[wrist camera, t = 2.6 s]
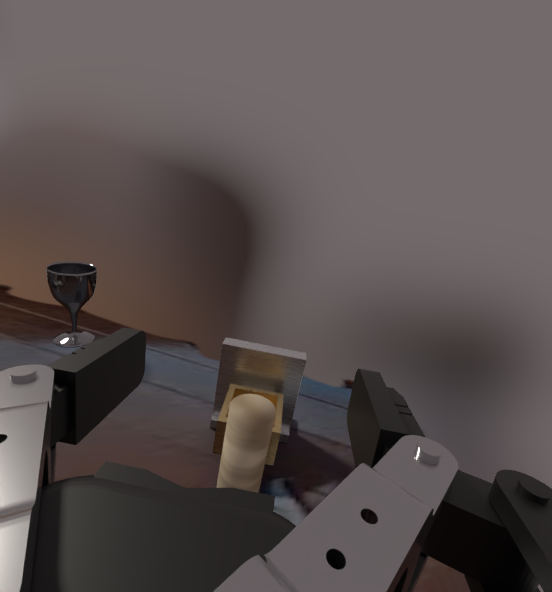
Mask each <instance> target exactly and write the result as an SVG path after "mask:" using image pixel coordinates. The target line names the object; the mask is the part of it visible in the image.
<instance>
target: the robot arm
mask: <svg viewBox="0 0 552 592" xmlns="http://www.w3.org/2000/svg"><path fill="white" fill-rule="evenodd" d="M145 351H146V334H145V332H144V331H140V330H135V329H129V328H121V329H120V330H118V331H116V332H114V333H112V334H111V335H109V336H107V337H105V338H102V339H99V340H95V341H92V342H90V343H88V344H86V345H84V346H83V347H81V349H77V350H75V351H73V352H72V354H68V355H66V356H64V357H62V358H60V359H59V360H57V361H55V362H53V363H51V364H49V365H48V366H44V365H23V366H17V367H13V368H9V369H6V370H4V371H1V372H0V592H413V590H414V588H415V586H416V584H417V581H418V579H419V577H420V575H421V573H422V571H423V569H424V567H425V564H426V562H427V560H428V557H429V556H430V557H432V558H434V559H436V560H438V561H440V562H441V563H443V564H445V565H447V566H449V567H451V568H453V569H455V570H457V571H459V572H461V573H463V574H464V575H465V578H466V581H467V583H468V586H469V588H470V591H471V592H540V591H539V589H538V585H539V584H540V585H541V587H542V589H543V591H544V592H552V489H551V488H550V487H548V486H547V485H545V484H544V483H542V482H540V481H539V480H536V479H534V478H533V477H531V476H528V475H526V474H523V473H520V472H517V471H512V470H501V471H499V472H498V473H497V474H496V477H495V479H494V482H493V484H492V483H489V482H487V481H484V480H482V479H479V478H477V477H474V476H472V475H469V474H467V473H464V472H462V471H460V470H458V463H457V461H456V459H455V457H454V456H453V455H452V454H451V453H450V452H449V451H448V450H447V449H446V448H444V447H443V446H442V445H440V444H438V443H437V442H435V441H433V440H430V439H428V438H425V436H424V434H423V432H422V431H421V429H420V427H419V425H418V423H417V421H416V420H415V418H414V416H412V412H411V410H410V409H409V408H408V405H407V403H406V401H405V400H404V398H403V397H402V396H401V395H400V394H399V393H398V392H397V391H396V390H394V389H393V388H389V387H386V385H385V383H384V381H383V378H382V377H381V374H380V373H379V372H375V371H370V370H364V369H358V370H357V372H356V375H355V379H354V384H353V388H352V393H351V397H350V402H349V406H348V413H347V425H348V431H349V436H350V441H351V446H352V452H353V457H354V462H355V467H356V469H355V470H354V471H353V472H352V473H351V474H350V475H349V476H348V477H346V478H345V479H344V480H343V481H342V482H341V483H340V484H339V485H338V486H337V487H336V488H335V489H334V490H333V491H332V492H331V493H330V494H329V495H328V496H327V497H326V498H325V499H324V500H323V501H322V502H321V503H320V504H319V505H318V506H317V507H316V508H315V509H314V510H313V511H312V512H311V513H310V514H309V515H307V516H306V517H305V518H304V519H303V520H302V521H301V522H300V523H299V524H298V525H297V526H295V525H294V524H293V523H291V522H290V521H289V520H287V519H285V518H284V517H282V516H281V515H279V514H277V513H275V512H273V508H274V500H275V496H271V495H266V494H262V493H257V492H252V491H247V490H242V489H237V488H184V487H181V486H179V485H177V484H175V483H173V482H171V481H169V480H167V479H164V478H162V477H160V476H158V475H156V474H154V473H152V472H150V471H148V470H145V469H140V468H135V467H130V466H125V465H121V464H116V463H111V462H105V464H104V465H103V466H102V467H101V468H100V469H99V471H98V472H97V473H96V474H95V475H88V476H79V477H74V478H68V479H64V480H61V481H57V482H54V480H55V466H56V443H57V442H63V443H68V444H73V445H77V444H78V443H79V442H80V441H81V440H82V439H83V438H84V437H85V436H86V435H87V434H88V433H89V432H90V431H91V430H92V429H93V428H95V427H96V426H97V425H98V424H99V423H100V422H101V421H102V420H103V419H104V418H105V417H106V416H107V415H108V414H109V413H110V412H111V411H112V410H113V409H114V408H116V407H117V406H118V405H119V404H120V403H121V402H122V401H123V400H124V399H125V398H126V397H127V396H128V395H129V394H130V393H131V392H132V391H133V390H134V389H135V388H137V387H138V385H139V384H140V382H141V380H142V378H143V375H144V370H145Z"/></svg>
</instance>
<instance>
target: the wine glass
mask: <svg viewBox="0 0 552 592" xmlns="http://www.w3.org/2000/svg"><path fill="white" fill-rule="evenodd" d="M47 280H48V284H49V288H50V291H51V294H52V295H53V297H54V298H55V299H56V300H57V301H58V302H59V303H61V304H62V305H63V306H64V307H65V308H66V309H67V310H68V311H69V313H70V316H71V321H72V330H71V331H66V332H63V333H60V334H58V335H57V336H55V338H54V340H53V341H54V343H55V344H56V345H59V346H62V347H79V346H83V345H86V344H88V343H90V342H92V341H93V340H94V339H95V335H94V334H93V333H91V332H89V331H85V330H77V316H78V312H79V310H80V309H81V307H82V306H83V305H84V304H85V303H86V302H87V301H89V300H90V298H91V297H92V296H93V294H94V291H95V287H96V281H97V268H96V267H95V266H94V265H91V264H88V263H83V262H57V263H52V264H50V265H48V266H47Z"/></svg>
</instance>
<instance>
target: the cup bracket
mask: <svg viewBox="0 0 552 592" xmlns="http://www.w3.org/2000/svg"><path fill="white" fill-rule="evenodd" d="M305 363H306V353H303V352H297V351H292V350H287V349H282V348H277V347H272V346H266V345H262V344H257V343H251V342H246V341H241V340H236V339H231V338H225V340H224V342H223V345H222V352H221V359H220V366H219V373H218V381H217V388H216V395H215V402H214V409H213V416H212V418H211V423H210V428H214V429H216V434H215V441H214V448H213V453H214V454H219V455H222V450H223V443H224V437H225V431H226V424H227V418H228V412H229V406H230V403H231V401H232V400H233V399H234V398H235V397H237V396H239V395H242V394H256V395H260V396H263V397H265V398H267V399H268V400H269V401H271V402H272V404H273V405H274V407H275V409H276V415H275V420H274V424H273V429H272V433H271V438H270V443H269V447H268V452H267V456H266V461H265V464H269V465H273V464H274V460H275V455H276V451H277V447H278V442H284V443H287V442H288V438H289V430H290V426H291V422H292V418H293V414H294V409H295V405H296V401H297V397H298V393H299V389H300V384H301V380H302V376H303V372H304V367H305Z"/></svg>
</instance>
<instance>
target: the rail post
mask: <svg viewBox="0 0 552 592" xmlns="http://www.w3.org/2000/svg"><path fill="white" fill-rule="evenodd" d="M275 415H276V409H275V407H274V405H273V404H272V402H271V401H269V400H268V399H267V398H265V397H263V396H260V395H256V394H242V395H239V396H237V397H235V398H234V399H233V400H232V401H231V403H230V406H229V412H228V418H227V424H226V431H225V437H224V443H223V450H222V456H221V462H220V469H219V475H218V481H217V488H237V489H242V490H247V491H252V492H257V493H259V488H260V484H261V479H262V475H263V470H264V465H265V461H266V456H267V452H268V447H269V443H270V438H271V433H272V429H273V424H274V420H275Z"/></svg>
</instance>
